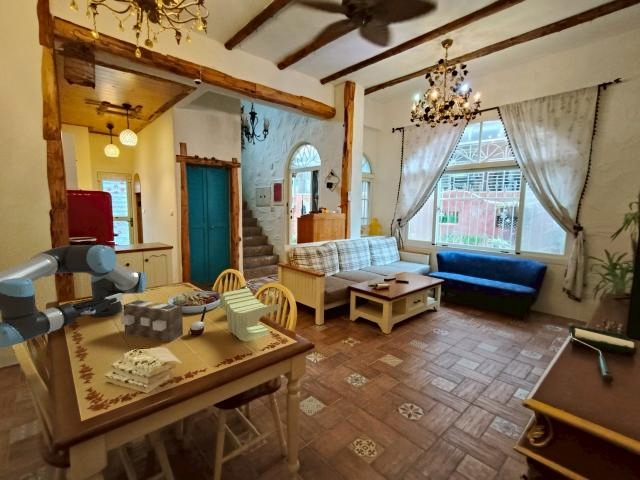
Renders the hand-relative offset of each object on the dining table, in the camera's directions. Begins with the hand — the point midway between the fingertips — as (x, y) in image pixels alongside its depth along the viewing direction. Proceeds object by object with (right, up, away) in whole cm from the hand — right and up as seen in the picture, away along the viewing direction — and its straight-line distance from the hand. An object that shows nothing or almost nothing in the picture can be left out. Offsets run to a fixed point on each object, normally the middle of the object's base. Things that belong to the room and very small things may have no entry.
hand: (121, 296), depth 123 cm
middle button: (+3, -15, +14) cm, 21 cm away
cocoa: (+24, -22, +19) cm, 38 cm away
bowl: (+7, -17, +57) cm, 60 cm away
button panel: (+4, -21, +18) cm, 28 cm away
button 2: (+11, -16, +9) cm, 22 cm away
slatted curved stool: (+47, -22, +21) cm, 57 cm away
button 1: (-6, -15, +14) cm, 22 cm away
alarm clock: (+37, -19, +47) cm, 63 cm away
